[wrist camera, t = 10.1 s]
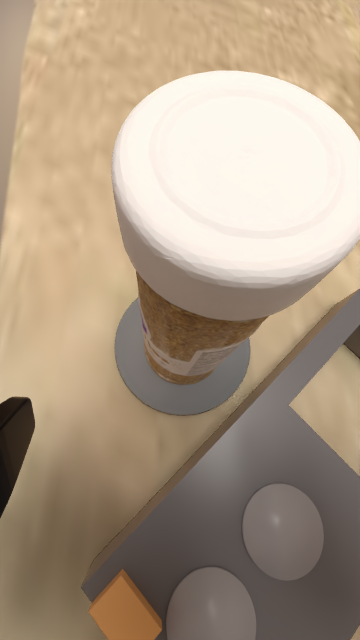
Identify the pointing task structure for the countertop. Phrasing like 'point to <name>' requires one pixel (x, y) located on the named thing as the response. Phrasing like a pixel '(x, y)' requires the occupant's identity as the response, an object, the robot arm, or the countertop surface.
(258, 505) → the grey domed holder tray
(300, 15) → the countertop surface
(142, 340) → the slate coaster
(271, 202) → the sprinkles bottle
